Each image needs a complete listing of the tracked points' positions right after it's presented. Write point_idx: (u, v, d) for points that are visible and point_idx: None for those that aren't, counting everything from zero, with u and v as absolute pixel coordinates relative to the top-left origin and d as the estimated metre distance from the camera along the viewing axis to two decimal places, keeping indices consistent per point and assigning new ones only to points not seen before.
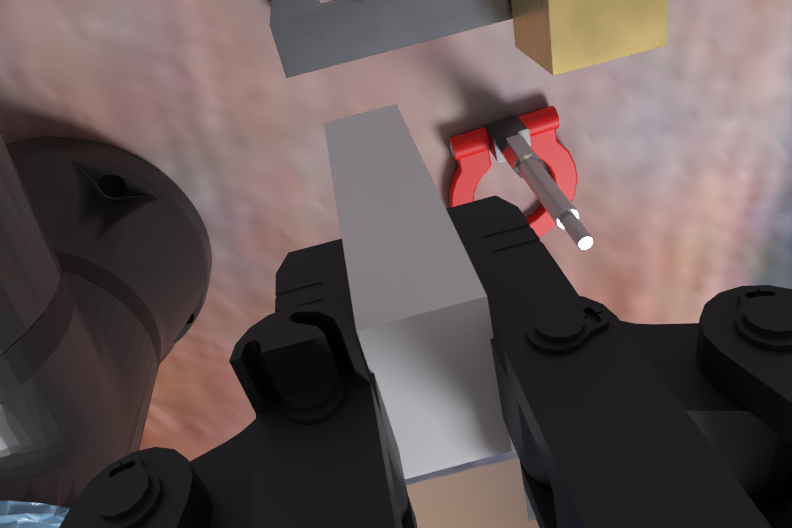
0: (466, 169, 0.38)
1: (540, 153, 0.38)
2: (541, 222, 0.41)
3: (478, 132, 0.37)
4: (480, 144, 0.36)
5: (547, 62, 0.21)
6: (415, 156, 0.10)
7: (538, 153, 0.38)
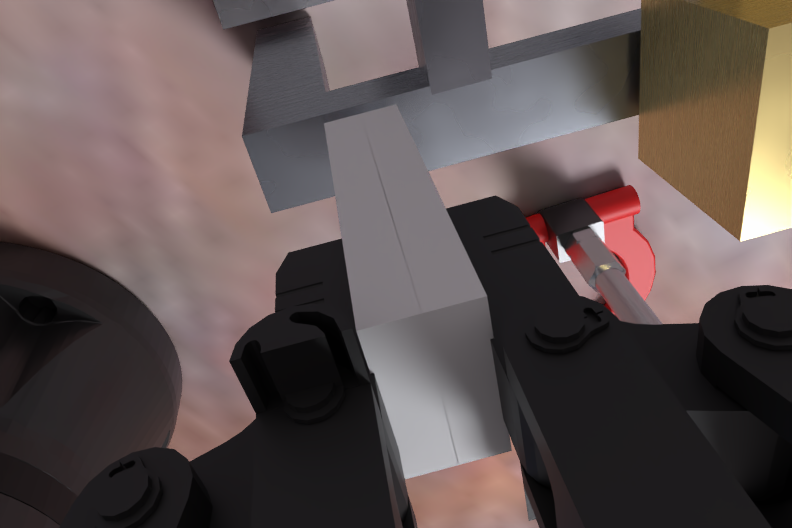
0: None
1: (611, 244, 0.29)
2: None
3: (533, 221, 0.28)
4: None
5: (726, 216, 0.12)
6: (415, 156, 0.10)
7: (609, 244, 0.29)
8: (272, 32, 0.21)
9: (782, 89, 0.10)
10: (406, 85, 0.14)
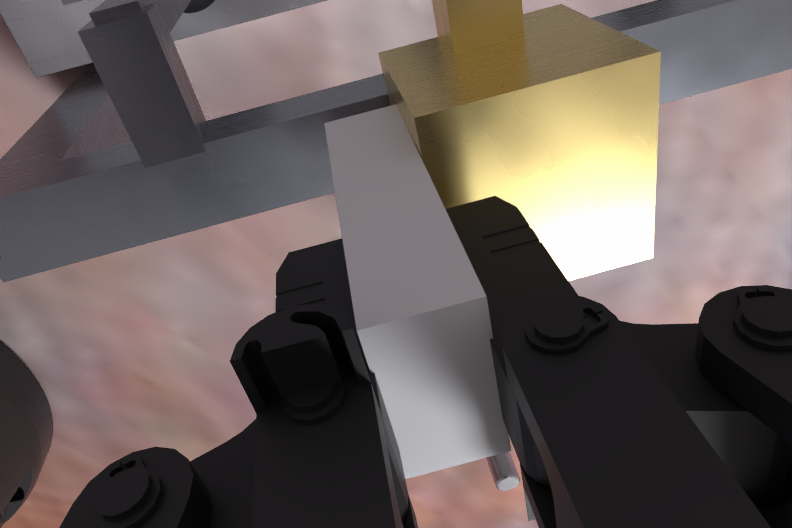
0: None
1: None
2: None
3: None
4: None
5: None
6: (415, 156, 0.10)
7: None
8: (87, 79, 0.21)
9: (449, 173, 0.10)
10: (125, 157, 0.14)
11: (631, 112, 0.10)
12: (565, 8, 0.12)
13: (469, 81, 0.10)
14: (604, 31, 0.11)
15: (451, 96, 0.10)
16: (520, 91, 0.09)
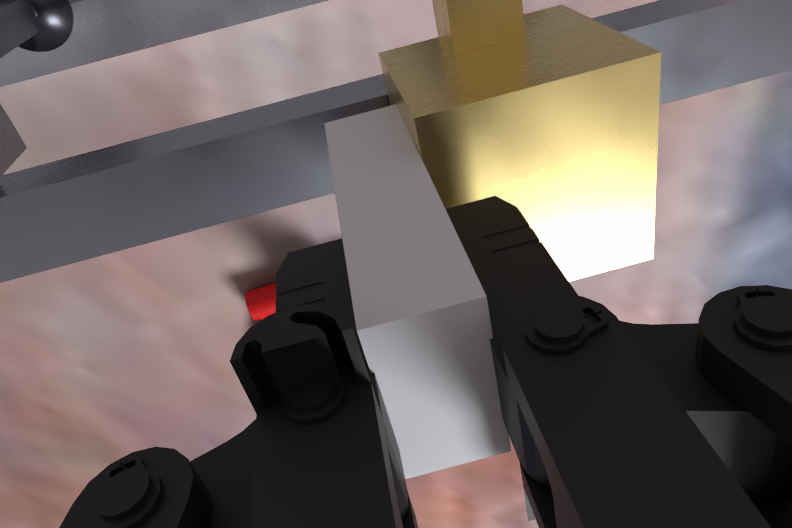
0: None
1: None
2: None
3: None
4: None
5: None
6: (415, 156, 0.10)
7: None
8: None
9: (449, 173, 0.10)
10: None
11: (631, 113, 0.10)
12: (566, 8, 0.12)
13: (469, 82, 0.10)
14: (604, 32, 0.11)
15: (452, 96, 0.10)
16: (520, 91, 0.09)
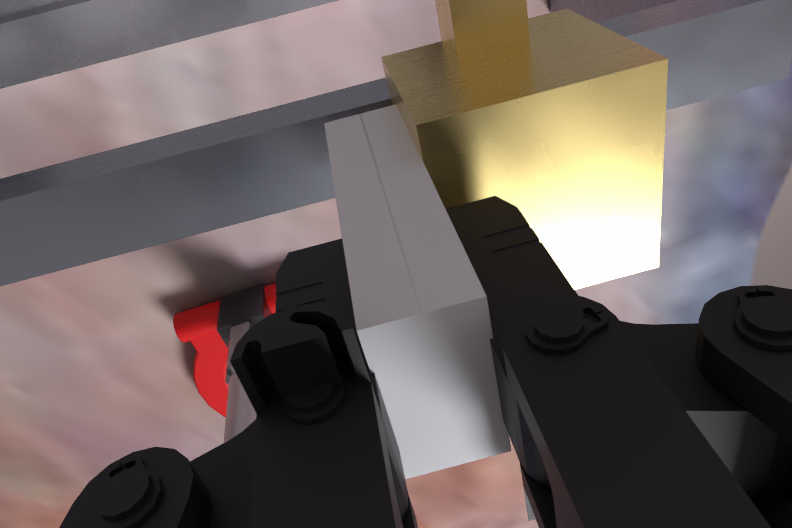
0: (204, 351, 0.28)
1: None
2: None
3: (211, 308, 0.27)
4: (211, 325, 0.27)
5: None
6: (415, 156, 0.10)
7: None
8: None
9: (451, 181, 0.10)
10: None
11: (637, 120, 0.10)
12: (571, 13, 0.12)
13: (472, 87, 0.10)
14: (610, 37, 0.11)
15: (454, 103, 0.10)
16: (524, 98, 0.09)
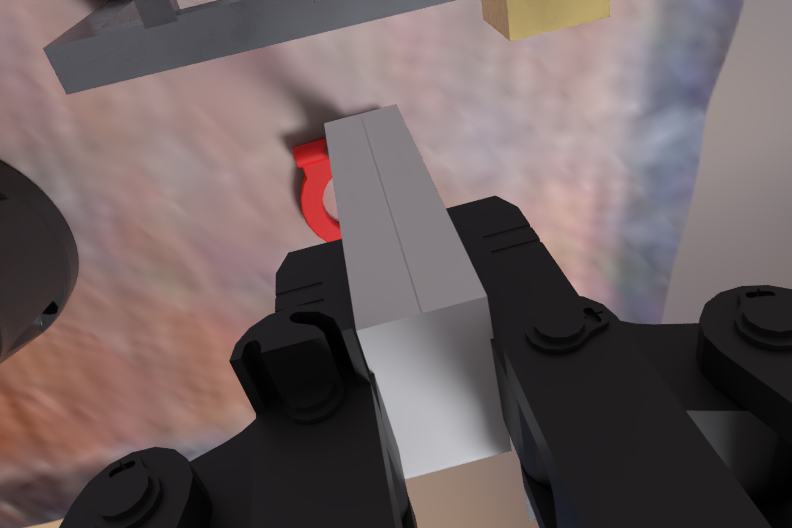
0: (311, 176, 0.40)
1: None
2: None
3: (319, 142, 0.39)
4: (319, 154, 0.39)
5: (505, 30, 0.24)
6: (415, 156, 0.10)
7: None
8: (112, 2, 0.33)
9: None
10: (135, 24, 0.26)
11: None
12: None
13: None
14: None
15: None
16: None
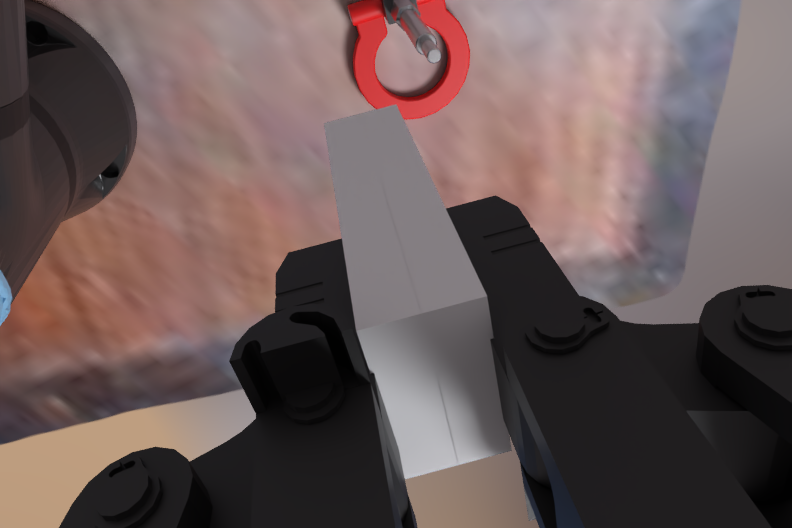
0: (364, 35, 0.42)
1: (432, 22, 0.42)
2: (440, 94, 0.45)
3: None
4: (374, 9, 0.40)
5: None
6: (415, 156, 0.10)
7: (430, 22, 0.42)
8: None
9: None
10: None
11: None
12: None
13: None
14: None
15: None
16: None
